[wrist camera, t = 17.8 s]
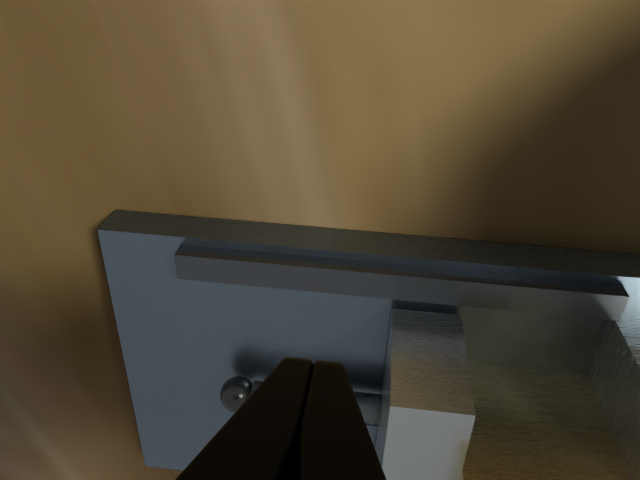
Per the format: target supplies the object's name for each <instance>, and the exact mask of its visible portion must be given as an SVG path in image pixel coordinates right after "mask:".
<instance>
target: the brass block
mask: <svg viewBox="0 0 640 480" xmlns="http://www.w3.org/2000/svg"><path fill="white" fill-rule="evenodd" d="M468 366H469V372H470V379H471V386H472V393H473V400H474V407H475V414H476V417H475V421H474V425H473V429H472V433H471V437H470V441H469V445H468V449H467V453H466V457H465V461H464V465H463V469H462V473H461V477H460V480H629V479H628V476H627V474H626V471H625V469H624V466H623V463H622V461H621V458H620V456H619V453H618V451H617V448H616V445H615V443H614V440H613V438H612V435H611V433H610V430H609V428H608V425H607V422H606V420H605V417H604V415H603V412H602V410H601V407H600V404H599V402H598V399H597V397H596V394H595V392H594V389H593V386H592V384H591V381H590V379H589V376H588V375H583V374H574V373H564V372H554V371H545V370H535V369H526V368H516V367H506V366H497V365H487V364H477V363H468Z"/></svg>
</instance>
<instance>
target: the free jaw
mask: <svg viewBox="0 0 640 480" xmlns="http://www.w3.org/2000/svg"><path fill="white" fill-rule="evenodd" d="M262 382H263V381H254V382H253V383H252V382H251V381H250V380H249V379H247V378H245V377H242V376H235V377H232V378H230V379H228V380H227V381H226V382H225V383H224V384H223V386H222V388H221V391H220V400H221V403H222V405H223V406H224V407H225V408H226V409H227V410H228V411H230V412H233V413H235V412H236V411H237V410H238V409H239V408H240V406H241V405H242V404H243V403H244V402H245V401H246V400H247V399H248V397H249V396H250V395H251V394H252V393H253V392H254V391H255V390H256V388H257V387H258V386H259V385H260V384H261V383H262ZM354 394H355V396H356V399H357V402H358V404H359V407H360V410H361V412H362V415H363V418H364V421H365V423H366V425H368V426H377V427H378V430H377V438H376V446H375V450H376V453H377V456H378V458H379V461H380V464H381V466H382V469H383V472H384V474H385V477H386V480H460V477H461V473H462V469H463V465H464V461H465V457H466V453H467V449H468V445H469V441H470V437H471V433H472V429H473V425H474V421H475V417H476V414H475V407H474V400H473V393H472V386H471V379H470V372H469V366H468V359H467V352H466V345H465V338H464V331H463V324H462V317H461V315H454V314H443V313H433V312H423V311H412V310H402V309H392V314H391V322H390V330H389V338H388V347H387V355H386V363H385V372H384V380H383V388H382V394H373V393H364V392H355V391H354Z"/></svg>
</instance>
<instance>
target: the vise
mask: <svg viewBox="0 0 640 480" xmlns="http://www.w3.org/2000/svg"><path fill="white" fill-rule="evenodd" d="M98 235H99V240H100V245H101V250H102V254H103V259H104V264H105V269H106V274H107V279H108V284H109V289H110V294H111V299H112V304H113V309H114V314H115V318H116V323H117V328H118V333H119V338H120V343H121V348H122V353H123V358H124V363H125V368H126V373H127V378H128V382H129V387H130V392H131V397H132V402H133V407H134V412H135V417H136V422H137V427H138V432H139V437H140V441H141V446H142V451H143V456H144V461H145V466H148V467H156V468H164V469H172V470H180V471H183V470H184V469H185V468H186V467H187V466H188V465H189V464H190V463H191V461H192V460H193V459H194V458H195V457H196V456H197V455H198V454H199V452H200V451H201V450H202V449H203V448H204V447H205V446H206V445H207V443H208V442H209V441H210V440H211V439H212V438H213V437H214V436H215V434H216V433H217V432H218V431H219V430H220V429H221V428H222V427H223V425H224V424H225V423H226V422H227V421H228V420H229V419H230V418H231V416H232V415H233V414H234V413H233V412H230V411H228V410H227V409H226V408H225V407H224V406H223V405H222V403H221V400H220V391H221V388H222V386H223V384H224V383H225V382H226V381H227V380H228V379H230V378H232V377H235V376H242V377H245V378H247V379H249V380H250V381H251V382H252V383H253V382H254V381H264V379H265V378H266V377H267V376H268V375H269V374H270V373H271V372H272V370H273V369H274V368H275V367H276V366H277V365H278V364H279V363H280V361H281V360H282V359H284V358H286V357H295V358H305V359H310V360H311V361H312V362H313V364H314V362H315V361H317V360H324V361H333V362H340V363H342V364H343V365H344V367H345V369H346V372H347V375H348V377H349V380H350V383H351V386H352V388H353V391H355V392H364V393H373V394H382V388H383V380H384V372H385V363H386V355H387V347H388V338H389V330H390V322H391V314H392V309H402V310H412V311H423V312H433V313H443V314H454V315H461V317H462V324H463V331H464V338H465V345H466V352H467V359H468V363H477V364H487V365H497V366H506V367H516V368H526V369H535V370H545V371H554V372H564V373H574V374H583V375H588V376H589V379H590V381H591V384H592V386H593V389H594V392H595V394H596V397H597V399H598V402H599V404H600V407H601V410H602V412H603V415H604V417H605V420H606V422H607V425H608V428H609V430H610V433H611V435H612V438H613V440H614V443H615V445H616V448H617V451H618V453H619V456H620V458H621V461H622V463H623V466H624V469H625V471H626V474H627V476H628V479H629V480H640V255H639V254H627V253H615V252H604V251H592V250H580V249H568V248H557V247H545V246H533V245H522V244H510V243H498V242H487V241H475V240H463V239H452V238H440V237H428V236H417V235H405V234H393V233H382V232H370V231H358V230H347V229H335V228H323V227H312V226H300V225H288V224H276V223H265V222H253V221H241V220H230V219H218V218H206V217H195V216H183V215H171V214H160V213H148V212H136V211H125V210H115V211H114V212H113V213H112V214H111V215H110V216H109V217H108V218H107V220H106V221H105V222H104V223H103V224H102V225H101V226H100V227H99V229H98ZM366 426H367V429H368V431H369V434H370V437H371V439H372V442H373V445H374V447H375V446H376V438H377V430H378V427H377V426H368V425H366Z"/></svg>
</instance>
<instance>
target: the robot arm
mask: <svg viewBox="0 0 640 480" xmlns="http://www.w3.org/2000/svg"><path fill="white" fill-rule="evenodd" d="M175 480H386V477H385V474H384V472H383V469H382V466H381V464H380V461H379V458H378V456H377V453H376V450H375V447H374V445H373V442H372V439H371V437H370V434H369V431H368V429H367V426H366V423H365V421H364V418H363V415H362V412H361V410H360V407H359V404H358V402H357V399H356V396H355V394H354V391H353V388H352V386H351V383H350V380H349V377H348V375H347V372H346V369H345V367H344V365H343V364H342V363H340V362H333V361H324V360H317V361H315V362H314V364H313V362H312V361H311V360H310V359H305V358H295V357H286V358H284V359H282V360H281V361H280V363H279V364H278V365H277V366H276V367H275V368H274V369H273V370H272V372H271V373H270V374H269V375H268V376H267V377H266V378H265V379H264V381H263V382H262V383H261V384H260V385H259V386H258V387H257V388H256V390H255V391H254V392H253V393H252V394H251V395H250V396H249V397H248V399H247V400H246V401H245V402H244V403H243V404H242V405H241V406H240V408H239V409H238V410H237V411H236V412H235V413H234V414H233V415H232V416H231V418H230V419H229V420H228V421H227V422H226V423H225V424H224V425H223V427H222V428H221V429H220V430H219V431H218V432H217V433H216V434H215V436H214V437H213V438H212V439H211V440H210V441H209V442H208V443H207V445H206V446H205V447H204V448H203V449H202V450H201V451H200V452H199V454H198V455H197V456H196V457H195V458H194V459H193V460H192V461H191V463H190V464H189V465H188V466H187V467H186V468H185V469H184V470H183V471H182V473H181V474H180V475H179V476H178V477H177V478H176V479H175Z"/></svg>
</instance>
